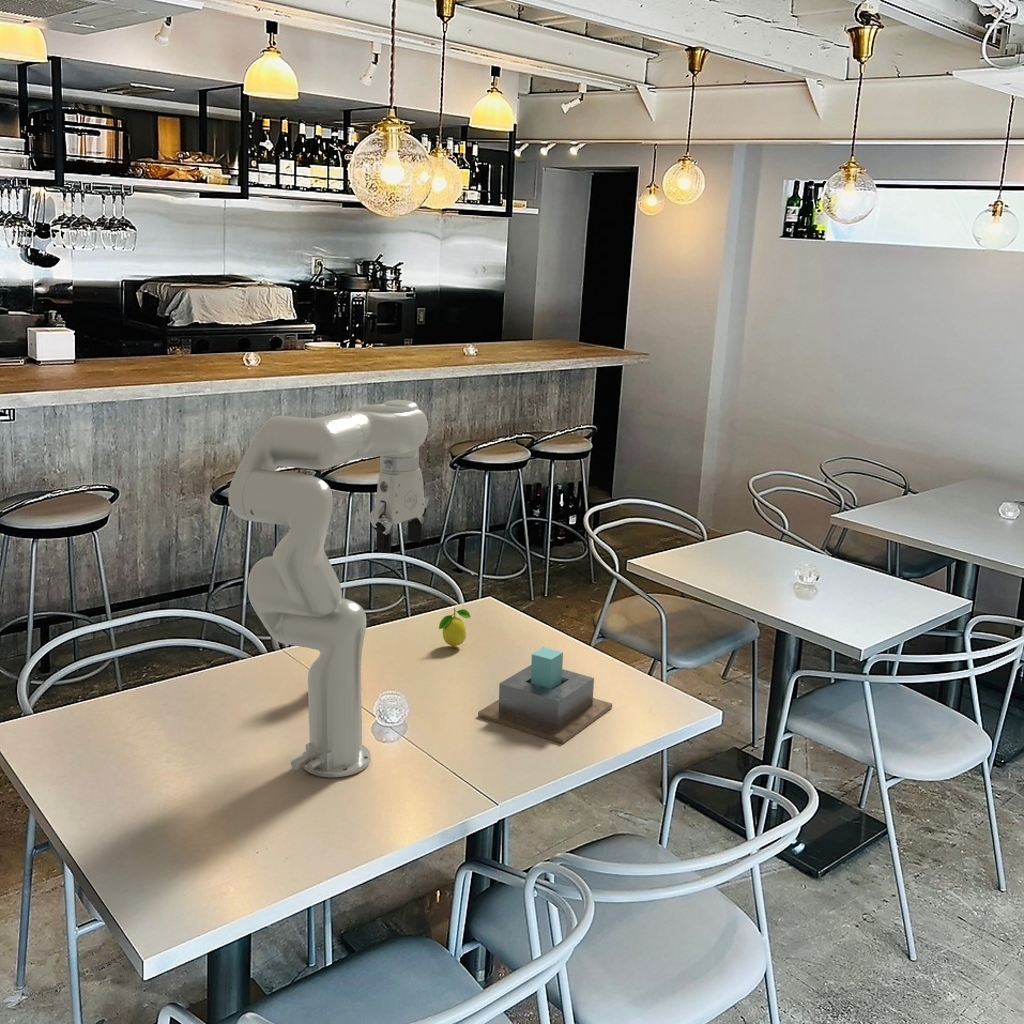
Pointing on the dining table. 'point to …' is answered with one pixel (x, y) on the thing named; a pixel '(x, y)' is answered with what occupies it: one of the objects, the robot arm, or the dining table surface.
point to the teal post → (547, 668)
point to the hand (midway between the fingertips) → (399, 546)
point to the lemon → (454, 628)
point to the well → (546, 706)
